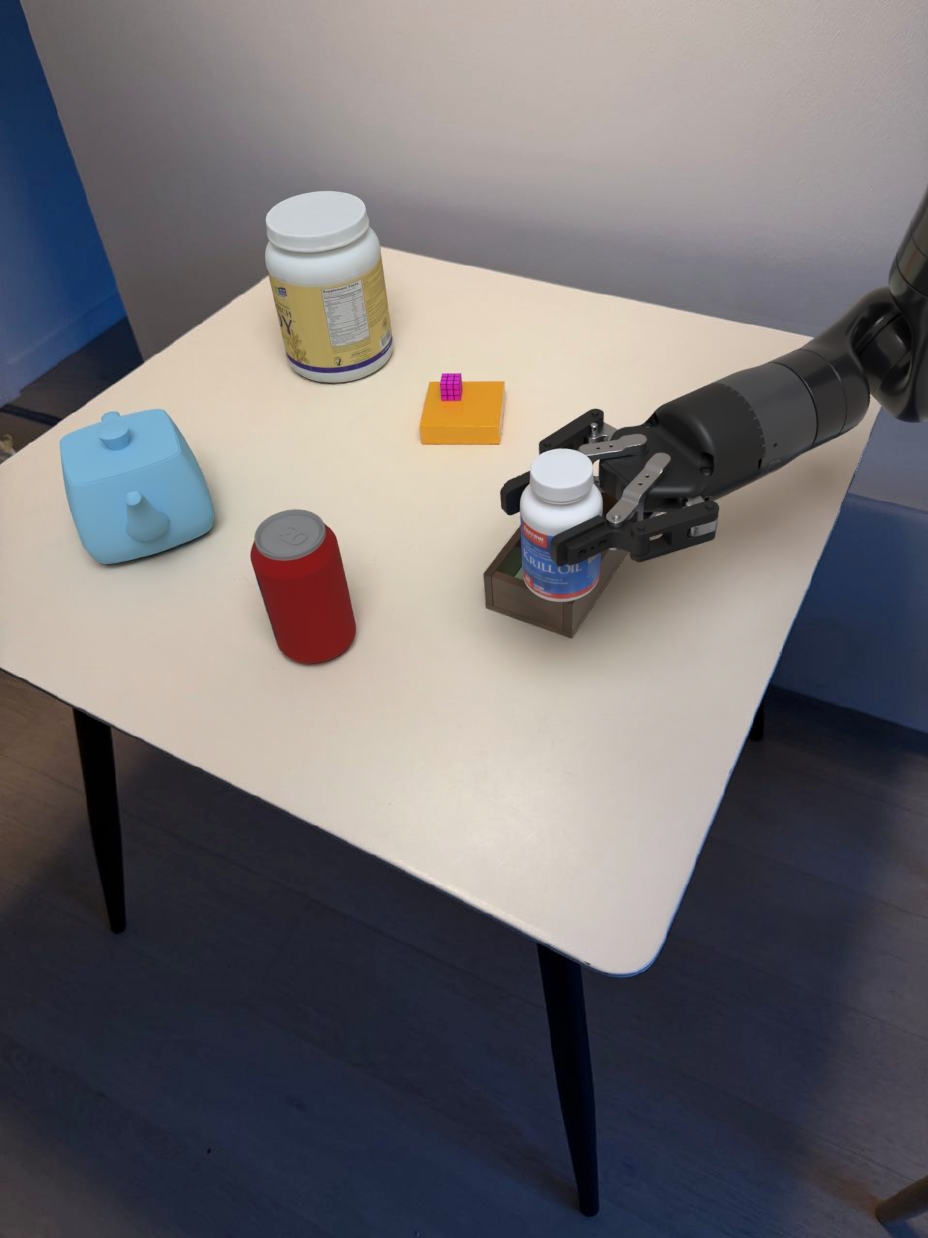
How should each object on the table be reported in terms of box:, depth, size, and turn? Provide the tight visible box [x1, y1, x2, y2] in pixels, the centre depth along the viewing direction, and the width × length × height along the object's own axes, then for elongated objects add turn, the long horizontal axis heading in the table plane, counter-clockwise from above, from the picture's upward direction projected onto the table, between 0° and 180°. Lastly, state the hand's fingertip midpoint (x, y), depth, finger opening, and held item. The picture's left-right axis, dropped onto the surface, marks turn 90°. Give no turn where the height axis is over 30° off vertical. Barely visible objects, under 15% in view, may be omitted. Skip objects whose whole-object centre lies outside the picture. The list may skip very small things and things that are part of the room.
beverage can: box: [249, 508, 357, 664], centre depth 79 cm, size 7×7×12 cm
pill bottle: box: [519, 449, 603, 602], centre depth 66 cm, size 6×5×10 cm
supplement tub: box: [264, 190, 394, 384], centre depth 107 cm, size 12×12×17 cm
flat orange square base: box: [419, 372, 507, 445], centre depth 101 cm, size 8×8×4 cm
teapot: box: [59, 408, 215, 565], centre depth 90 cm, size 12×18×12 cm
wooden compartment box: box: [482, 474, 629, 639], centre depth 85 cm, size 8×15×4 cm, turn 150°
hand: (528, 527), depth 64 cm, fingers closed on pill bottle, 5 cm apart
